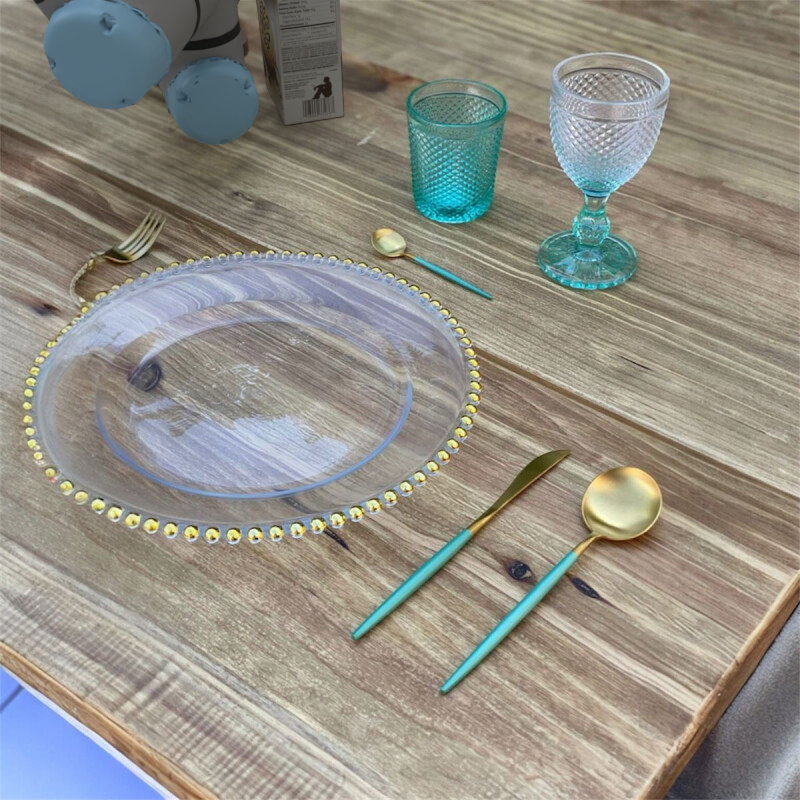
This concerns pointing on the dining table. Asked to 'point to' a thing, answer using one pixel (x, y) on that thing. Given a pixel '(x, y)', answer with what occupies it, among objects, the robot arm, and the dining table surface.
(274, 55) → the coffee box
